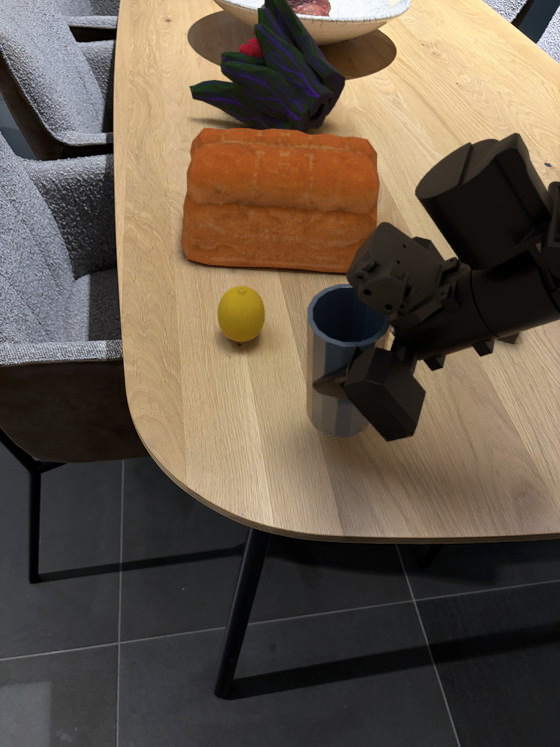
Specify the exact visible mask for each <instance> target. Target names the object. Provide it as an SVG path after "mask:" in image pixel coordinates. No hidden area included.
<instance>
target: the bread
mask: <svg viewBox="0 0 560 747" xmlns="http://www.w3.org/2000/svg"><path fill="white" fill-rule="evenodd" d="M189 155H190V162H189V164H188V166H187V170H186V192H185V197H184V201H183V205H182V212H183V213H182V216H183V217H182V225H181V226H182V227H181V239H180V241H181V242H180V243H181V247H182V251H183V254H184V255H185V257H186V259H187V260H188V261H192V262H197V263H201V264H205V265H212V266H224V267H225V266H226V267H248V268H249V267H254V268H257V267H258V268H278V269H291V270H305V271H313V272H315V271H316V272H326V273H344V274H345V273H347V271H348V269H349V267H350V265H351V263H352V261H353V259H354V257H355V255H356V254H355V253H356V251H357V249H358V248H359V247H360V246H361V245H362V244H363V242H364V241H365V240H366V239H367V238H368V237H369V236H370V234H371V233H372V232H373V231H374V230H375V229H376V227H377V226H378V204H379V203H378V202H379V194H380V187H381V182H380V177H379V173H378V152H377V151H376V150H375V148H374V146H373V145H372V144H371V141H370V140H369V139H368V138H363V137H357V136H341V135H338V134H337V135H336V134H333V133H317V134H309V133H307V132H306V133H303V132H301V131H298V130H285V129H266V130H259V129H257V128H249V127H247V128H245V127H244V128H243V127H231V128H214V127H203V128H202V129H201V130H200V132H198V134H197V135H196V136H195V137H194V139H192V141H191V144H190V150H189Z"/></svg>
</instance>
